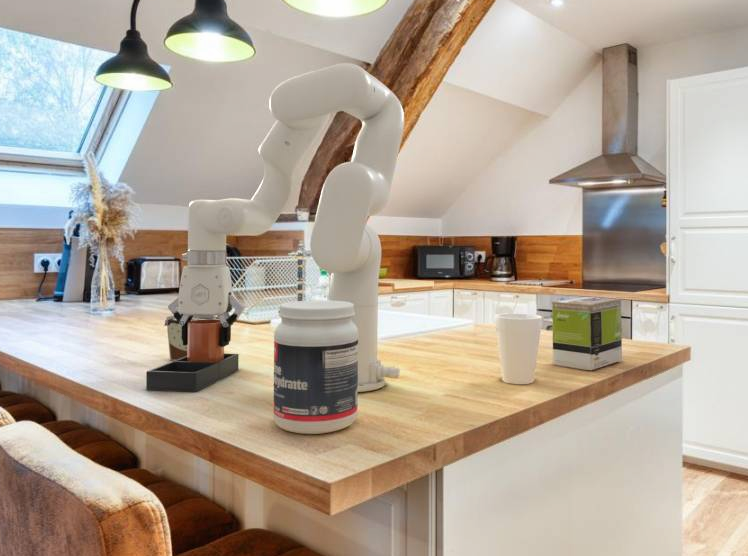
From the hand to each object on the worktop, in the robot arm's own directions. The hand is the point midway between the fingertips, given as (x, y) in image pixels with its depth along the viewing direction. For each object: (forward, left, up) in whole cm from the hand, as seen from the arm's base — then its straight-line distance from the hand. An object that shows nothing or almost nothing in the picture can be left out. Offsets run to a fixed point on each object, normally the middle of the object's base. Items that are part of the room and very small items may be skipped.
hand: (206, 344), depth 128 cm
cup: (0, 0, -4) cm, 4 cm away
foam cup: (-64, -4, -6) cm, 65 cm away
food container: (+10, -15, -6) cm, 19 cm away
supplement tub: (-32, +30, -6) cm, 44 cm away
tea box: (-81, -24, -6) cm, 85 cm away
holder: (0, +5, -6) cm, 8 cm away
